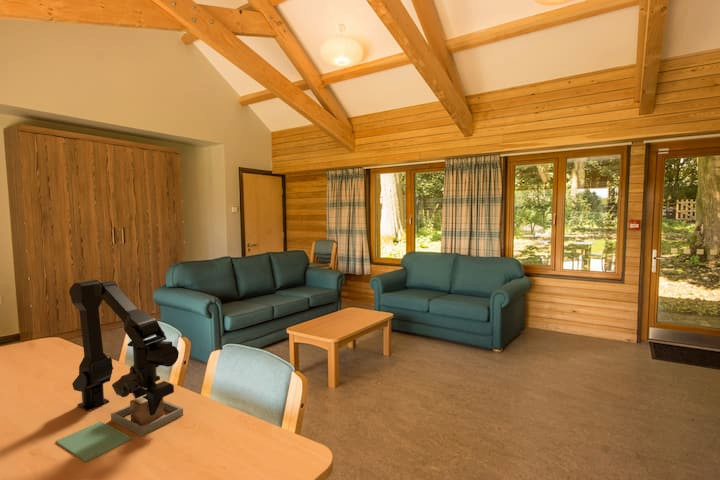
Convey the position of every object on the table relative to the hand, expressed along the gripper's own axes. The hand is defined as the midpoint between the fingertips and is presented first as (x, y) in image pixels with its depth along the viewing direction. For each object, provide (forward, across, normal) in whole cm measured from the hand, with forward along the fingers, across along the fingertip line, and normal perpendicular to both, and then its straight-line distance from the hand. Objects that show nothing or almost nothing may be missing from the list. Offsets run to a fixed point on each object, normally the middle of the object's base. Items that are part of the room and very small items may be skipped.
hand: (147, 412), depth 114 cm
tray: (+2, 0, 0) cm, 2 cm away
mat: (+2, -1, -14) cm, 14 cm away
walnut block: (+2, 0, 0) cm, 2 cm away
